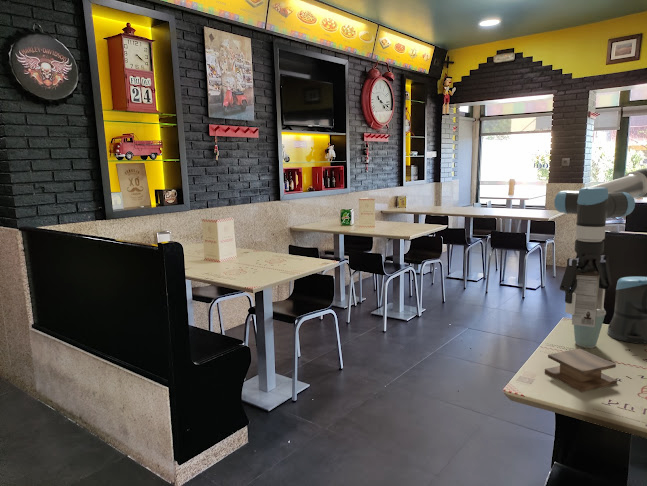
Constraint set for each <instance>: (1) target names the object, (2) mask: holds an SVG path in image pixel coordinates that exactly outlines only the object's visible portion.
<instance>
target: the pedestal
mask: <svg viewBox="0 0 647 486" xmlns="http://www.w3.org/2000/svg"><path fill="white" fill-rule="evenodd" d="M547 359H550V360H552V361H554V362H556V363H558V364H559V365H557V366H553V367H548V368H545V369H544V373H545V374H546V375H548V376H551V378H554V379H556V380H558V381H559V382H562V383H563V384H565V385H567V386H569V387H571V388H573V389H575V390H576V391H578V392H581V393H584V392H589V391H592V390H597V389H600V388H601V389H602V388H605V387H609V386H615V385H617V384H618V379H615V378H614V377H611V376H609V375H607V374H605V373H603V372H602V371H605V370H609V369H610V370H611V369H614V368H616V367H617V366H616V365H617V364H616V363H614V362H612V361H610V360H607V359H605V358H602V357H600V356H597V355H595V354H593V353H591V352H589V351H586V350H585V349H582V348H575V349H570V350H565V351H560V352H555V353H548V354H547Z"/></svg>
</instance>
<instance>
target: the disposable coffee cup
mask: <svg viewBox="0 0 647 486" xmlns="http://www.w3.org/2000/svg"><path fill="white" fill-rule="evenodd" d="M606 315H607V311H606V309H605V308H603V310H599V309H597V312H596V324H595V327H588V326H579V325H573V331H574V342H575V344H576V345H577V346H579V347H581V348H588V349H593V348H595V347H596V345H597V343H598V339H599V337H600V333H601V329H602V326H603V323H604V319H605V316H606Z"/></svg>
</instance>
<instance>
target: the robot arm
mask: <svg viewBox="0 0 647 486" xmlns="http://www.w3.org/2000/svg"><path fill="white" fill-rule="evenodd" d="M639 198H647V167H645V168H639V169H638V170H634V171H630V172H627V173H626V174H625V175H623V176H622V177H619V178H616V179H613V180H609V181H606V182H601V183H599V184H595V185H591V186H585V187H581V188H579V189H576V190H570V189H567V190H560V191H559V192H558V193H556V195H555V197H554V207H555V210H556V211H557V212H559V213H560V214H561V213H563V214H567V215H569V214H570V215H576V225H575V226H576V227H575V238H576V239H575V241H574V252H575V253H576V256H575V258H570V257H568V258H567V259H566V260H567V261H566V268H565V271H564V273H563V277H562V280H561V283H560V286H559V290H560V291H563V292H565V293H564V294H565V295H564V303H565V309H564V310H565V311H564V312H565V313H567V314H568V315H569V314H570V315H575V301H576V293H574V291H575V289H576V287H577V280H575V272H578V273H586V272H587V271H589V270H592V271H593V270H596V271H599V288H598V301H597V309H599V310H603V308H604V306H605V305H604V303H605V298H606V290H610V289H611V288H610V287H612V285H613V282H612V281H613V280H612V277H611V270H610V264H609V260H610V256H609V255H605V254H603V253H604V248H605V242H604V240H605V239H606V225H607V224H606V222H607V219H611V218H623V217H625V216H628V215H630V214H631V213H633V211H634V209H635V207H636V201H635V199H639ZM614 299H615V302H614V312H613V315H612V318H611V320H610V322H609V324H608V326H607V331H606V332H607V335H608V336H610V337H611V338H612V339H615V340H618V341H622V342H625V343H627V342H628V343H633V344H647V276H624V277H620V278H619V279H618V280H617V283H616V288H615V298H614ZM604 309H605V308H604Z"/></svg>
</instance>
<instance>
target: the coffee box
mask: <svg viewBox="0 0 647 486" xmlns="http://www.w3.org/2000/svg"><path fill="white" fill-rule="evenodd" d="M575 280H577V287H576V289H575V291H574V293H576V301H575V315H572V314H571V315H572V316H571V325H573V326H574V325H579V326H588V327H595V324H596V312H597V301H598V288H599V271H596V270H593V271H592V270H589V271H587V272H586V273H578V272H575Z"/></svg>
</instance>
